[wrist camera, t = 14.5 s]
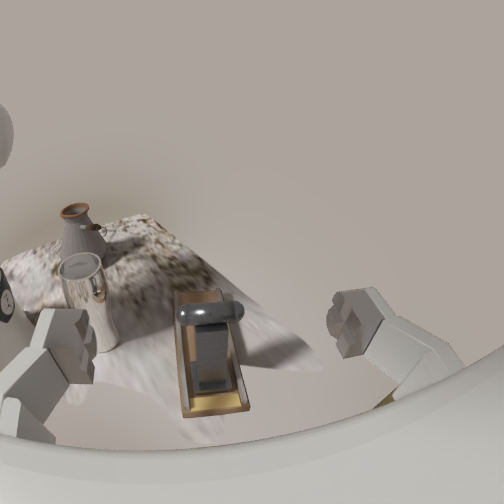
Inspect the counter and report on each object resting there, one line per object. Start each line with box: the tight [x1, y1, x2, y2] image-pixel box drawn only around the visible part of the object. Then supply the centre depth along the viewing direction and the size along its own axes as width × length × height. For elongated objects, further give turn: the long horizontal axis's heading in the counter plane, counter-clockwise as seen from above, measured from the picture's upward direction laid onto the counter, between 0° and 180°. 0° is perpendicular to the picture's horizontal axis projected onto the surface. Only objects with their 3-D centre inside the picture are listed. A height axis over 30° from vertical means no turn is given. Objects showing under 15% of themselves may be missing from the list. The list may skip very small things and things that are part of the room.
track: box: [173, 288, 250, 418], centre depth 45 cm, size 9×24×2 cm, turn 13°
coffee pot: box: [60, 203, 107, 262], centre depth 53 cm, size 21×12×15 cm, turn 49°
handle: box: [176, 301, 244, 395], centre depth 38 cm, size 7×12×14 cm, turn 13°
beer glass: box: [58, 252, 119, 353], centre depth 39 cm, size 7×7×15 cm
